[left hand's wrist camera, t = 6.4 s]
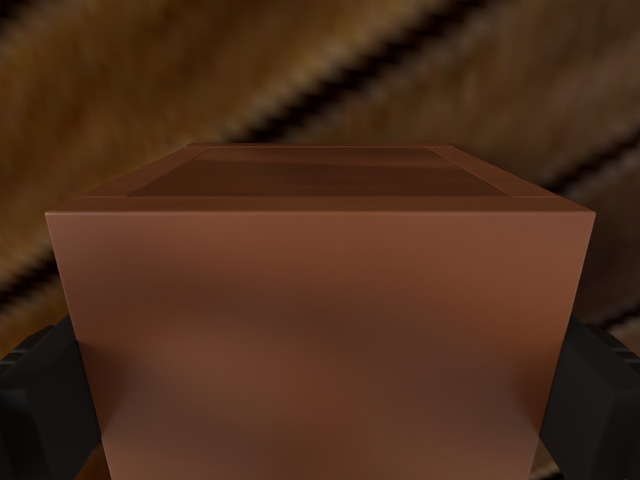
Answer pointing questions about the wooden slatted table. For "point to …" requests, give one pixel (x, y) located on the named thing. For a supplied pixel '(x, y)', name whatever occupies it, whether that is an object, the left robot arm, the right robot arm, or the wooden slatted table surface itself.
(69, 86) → the wooden slatted table surface
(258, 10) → the wooden slatted table surface
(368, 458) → the cabinet
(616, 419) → the left robot arm
